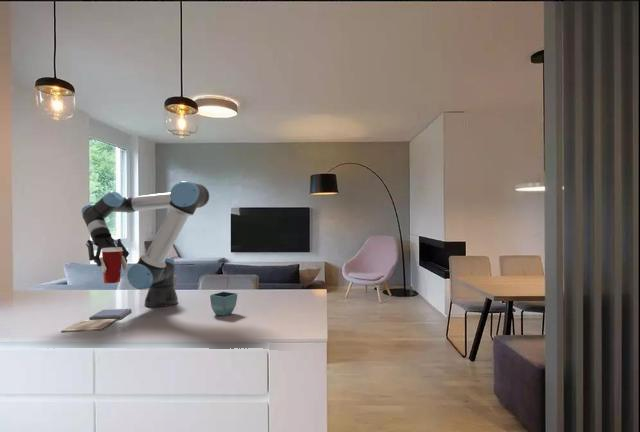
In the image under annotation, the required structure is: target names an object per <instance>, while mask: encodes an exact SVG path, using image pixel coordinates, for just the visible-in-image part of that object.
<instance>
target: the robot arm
mask: <svg viewBox="0 0 640 432" xmlns="http://www.w3.org/2000/svg"><path fill="white" fill-rule="evenodd" d="M209 200H210V192H209V190H208V189H207V187H206V186H204V185H202V184H200V183H195V182H192V181H183V180H182V181H179V182H177V183H175V184H174V185H173V186H172V188H171V189H170V191H169V192H163V193H162V192H161V193H153V194H152V193H151V194H146V195H137V196H136V195H135V196H127V197H126V196H122V195H121V194H120V193H119V192H118V191H117V192H116V191H115V190H110V191H109V192H107V193H106V194H104V195H103V196H102V197H101V198H100V199H99V200H98V201H97V202H95V203H94V204H93V203H90V204H87V205H84V206H83V207H82V208H81V215H82V219H83V220H84V222H85V224H86V228H87V230H88V233H89V236H90V238H91V240H90V239H88V240H87V241H86V243H85V245H86V247H87V250H88V251H87V252H88V259H89V261H90V262H91V261H93V262H94V263H96V267H97V266H98V267H100V271H101V273H102V274H103V273H105V271H106V266H105V264H104V261H103V259H102V256H101V254H102V252H101V251H102V249H103V248H109V247H122V250H123V251H122V262H121V267H122V269H123V271H124V272H126V271H127V272H126V274H127V275H126V276H127V277H126V278H127V280H128V284H129V285H130V286H131V287H132V288H134V289H136V290H147V289H148V290H147V294H146V296H145V299H144V306H145V307H150V308H160V307H169V306H172V305H176V304H177V303H179V300H178V299H179V298H178V294H177V292H176V289H175V267H176V266H175V265H176V264H175V259H174V258H172V257H168V255H169V253H170V252H171V250H172V248H173V246H174V244H175V242H176V240H177V239H178V236H179V235H180V233H181V231H182V230H183V227H184V225H185V224H186V222H187V219H188V218H189V217H190V216H193V215H194V214H195V212H196V210H197V209H199V208H202V207H204V206H206V205H207V204H208V202H209ZM159 209H169V210H168V212H167V214H166V216H165V218H164V219H163V221H162V223H161V225H160V227H159V229H158V231H157V233H156V235H155V237H154V239H152V242H151V244H150V246H149V248H148V249H147V251H146V253H144V254H142V255H140V257H139V259H138V261H137V263H136V264H133V265H131V266H130V267H129V265H128V259H127V258H128V257H129V255H130V253H129V251H128V250H127V248H126V247H125V245H124V244H123V243H122V240H121V238H117V239H114V238H113V236H112V233H111V231H110V229H109V227H108V225H107V223H106V220H105V219H106V218H107V217H109V216H110V215H111V214H112V213H113V212H114V213H127V214H129V213H131V214H132V213H135V212H141V211H150V210H159ZM94 246H96V247H97V248H96V252H95V251H94V250H95V249H94ZM100 256H101V257H100Z"/></svg>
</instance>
